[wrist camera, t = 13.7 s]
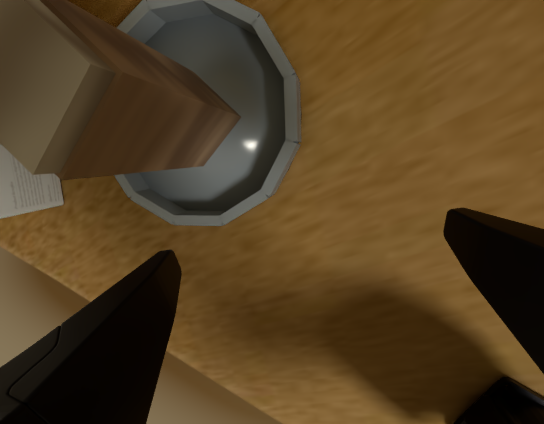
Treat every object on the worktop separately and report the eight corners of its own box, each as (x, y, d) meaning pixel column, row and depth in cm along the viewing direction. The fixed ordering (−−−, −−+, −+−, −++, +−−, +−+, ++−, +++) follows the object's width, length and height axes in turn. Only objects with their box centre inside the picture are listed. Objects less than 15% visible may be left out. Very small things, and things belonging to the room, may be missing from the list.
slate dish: (342, 66, 19) (343, 53, 17) (245, 251, 24) (235, 262, 21) (153, -28, 20) (129, -51, 18) (97, 163, 25) (72, 164, 23)
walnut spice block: (241, 117, 21) (97, 62, 8) (203, 166, 22) (34, 182, 10) (194, 72, 21) (-18, -48, 8) (159, 124, 22) (-63, 88, 10)
